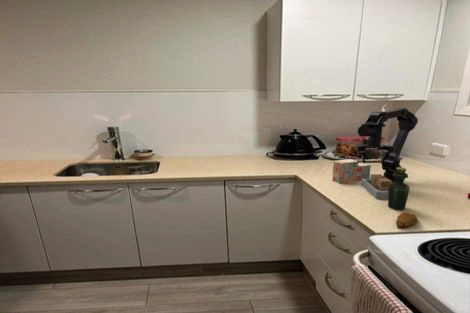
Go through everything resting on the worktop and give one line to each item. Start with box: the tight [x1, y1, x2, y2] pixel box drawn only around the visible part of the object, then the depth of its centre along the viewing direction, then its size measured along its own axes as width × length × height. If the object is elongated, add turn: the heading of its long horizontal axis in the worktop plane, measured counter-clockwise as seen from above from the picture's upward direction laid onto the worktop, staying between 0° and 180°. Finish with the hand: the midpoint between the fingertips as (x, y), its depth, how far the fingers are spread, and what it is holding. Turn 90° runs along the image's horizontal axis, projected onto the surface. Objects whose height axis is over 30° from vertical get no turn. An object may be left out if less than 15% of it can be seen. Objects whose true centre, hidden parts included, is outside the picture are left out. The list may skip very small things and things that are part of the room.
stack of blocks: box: [332, 158, 372, 184], centre depth 152 cm, size 21×6×12 cm, turn 106°
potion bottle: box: [387, 166, 411, 211], centre depth 113 cm, size 8×8×18 cm
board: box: [370, 173, 393, 191], centre depth 133 cm, size 12×5×6 cm, turn 177°
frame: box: [360, 178, 388, 200], centre depth 134 cm, size 12×21×4 cm, turn 173°
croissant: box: [396, 212, 419, 229], centre depth 100 cm, size 14×7×5 cm, turn 125°
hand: (372, 163), depth 141 cm, fingers open, 9 cm apart
